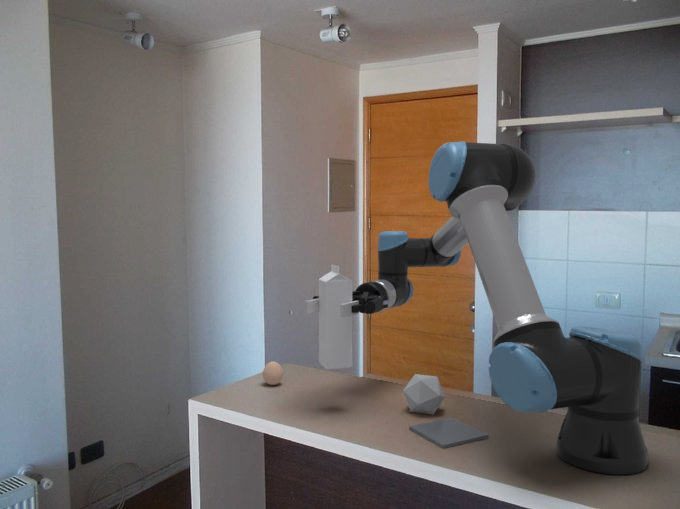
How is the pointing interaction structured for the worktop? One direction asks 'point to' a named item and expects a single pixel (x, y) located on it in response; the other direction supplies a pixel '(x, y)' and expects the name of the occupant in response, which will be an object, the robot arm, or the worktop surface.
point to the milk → (334, 321)
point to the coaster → (448, 432)
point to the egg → (272, 373)
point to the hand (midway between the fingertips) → (323, 309)
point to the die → (424, 394)
